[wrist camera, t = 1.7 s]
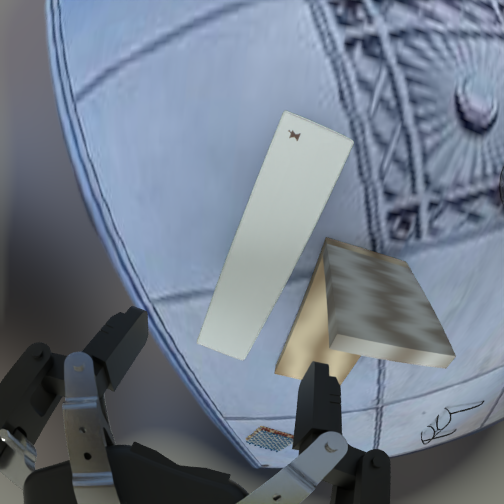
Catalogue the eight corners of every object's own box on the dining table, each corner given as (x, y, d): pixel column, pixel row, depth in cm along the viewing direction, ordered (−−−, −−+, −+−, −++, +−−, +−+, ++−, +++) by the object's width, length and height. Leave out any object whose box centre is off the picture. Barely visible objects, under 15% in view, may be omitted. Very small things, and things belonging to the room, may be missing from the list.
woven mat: (299, 434, 57) (298, 440, 56) (279, 447, 62) (278, 453, 60) (261, 423, 57) (260, 429, 55) (244, 436, 62) (243, 442, 60)
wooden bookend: (405, 261, 34) (455, 356, 18) (338, 378, 45) (339, 466, 29) (325, 237, 35) (337, 333, 19) (275, 365, 46) (258, 455, 30)
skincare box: (266, 279, 39) (243, 364, 25) (230, 263, 39) (189, 341, 25) (332, 134, 29) (357, 140, 15) (288, 115, 29) (274, 104, 15)
